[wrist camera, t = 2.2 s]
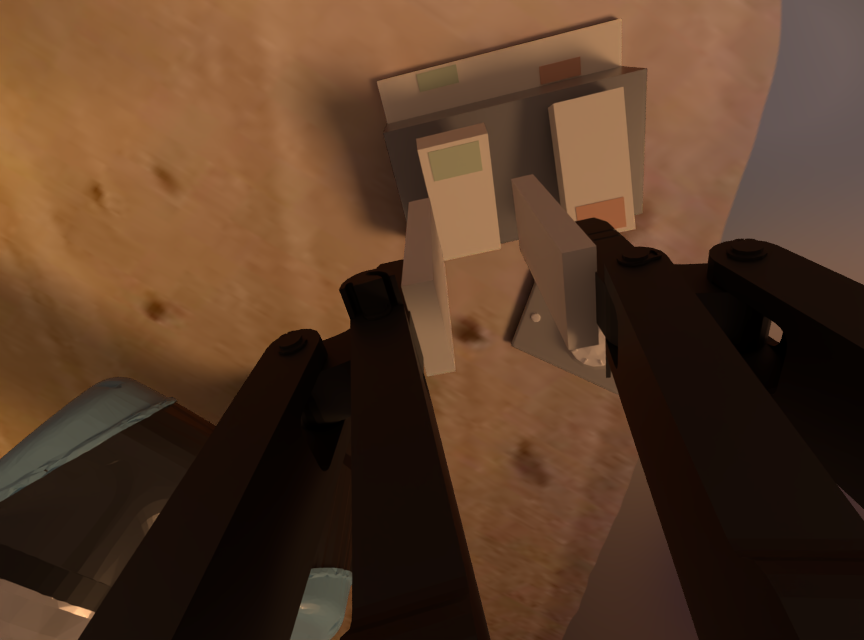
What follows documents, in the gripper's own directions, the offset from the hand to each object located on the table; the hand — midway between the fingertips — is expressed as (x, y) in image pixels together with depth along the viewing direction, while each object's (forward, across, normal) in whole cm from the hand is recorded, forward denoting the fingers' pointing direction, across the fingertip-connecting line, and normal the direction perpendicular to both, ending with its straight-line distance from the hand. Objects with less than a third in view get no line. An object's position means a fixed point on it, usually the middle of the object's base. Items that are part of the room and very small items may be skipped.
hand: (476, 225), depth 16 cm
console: (+23, +5, -2) cm, 23 cm away
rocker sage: (+15, 0, -4) cm, 16 cm away
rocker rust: (+15, +9, -4) cm, 18 cm away
